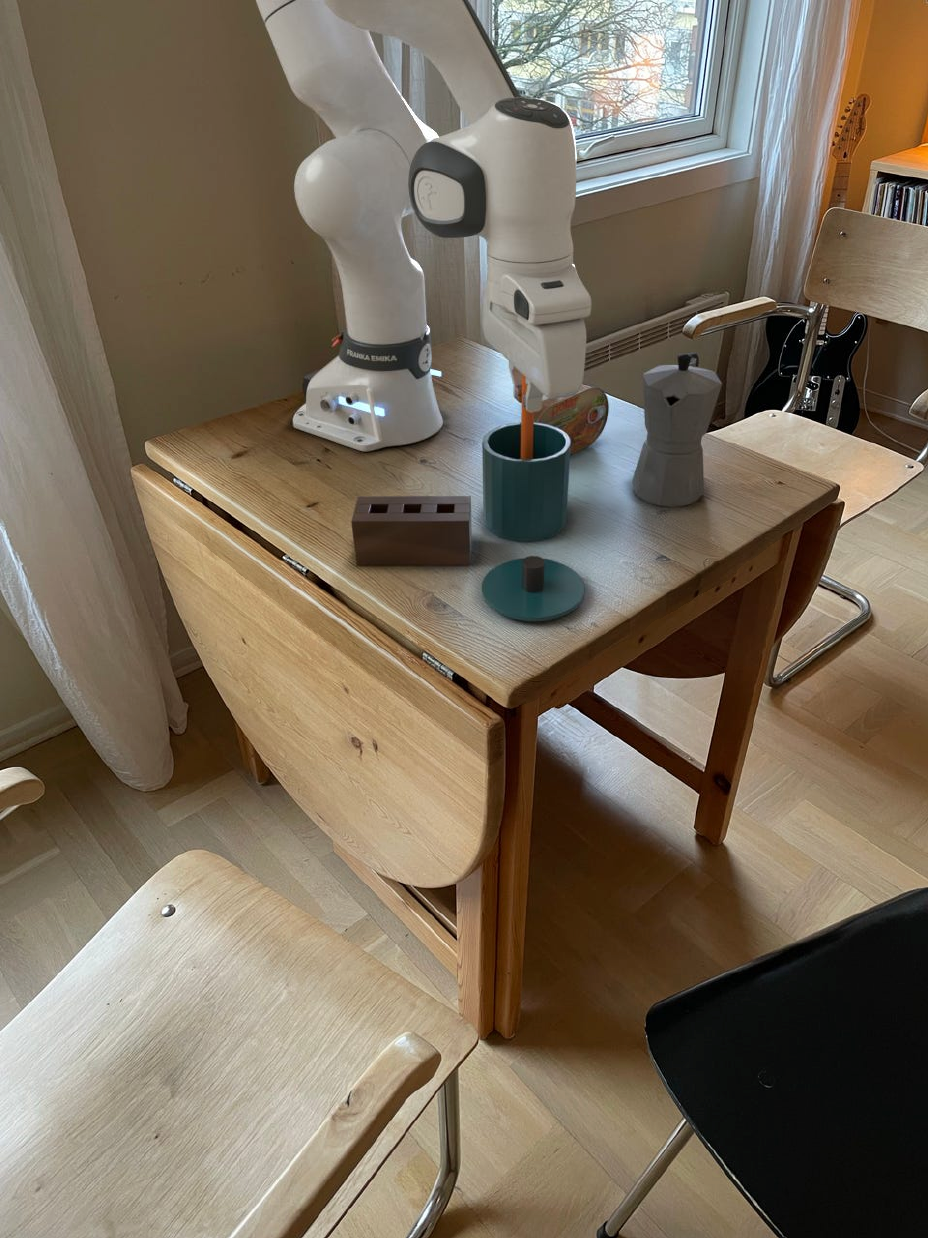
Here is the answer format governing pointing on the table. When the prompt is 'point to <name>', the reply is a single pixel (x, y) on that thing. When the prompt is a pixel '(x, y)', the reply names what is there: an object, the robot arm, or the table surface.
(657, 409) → the coffeepot
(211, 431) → the table surface
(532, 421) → the straw
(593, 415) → the tin
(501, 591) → the can lid
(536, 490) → the can
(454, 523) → the straw rack
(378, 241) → the robot arm
